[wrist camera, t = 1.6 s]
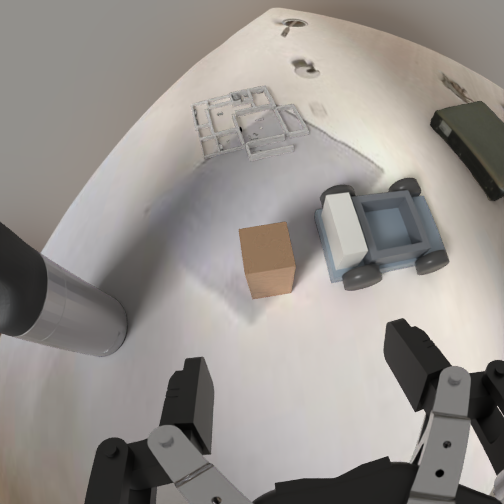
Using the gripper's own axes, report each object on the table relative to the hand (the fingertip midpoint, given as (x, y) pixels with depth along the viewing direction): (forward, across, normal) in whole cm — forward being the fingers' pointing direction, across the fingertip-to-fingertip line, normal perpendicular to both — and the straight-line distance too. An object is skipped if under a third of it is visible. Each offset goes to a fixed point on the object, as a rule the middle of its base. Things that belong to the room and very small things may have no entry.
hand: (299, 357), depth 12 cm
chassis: (+28, -17, +7) cm, 33 cm away
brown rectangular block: (+26, 0, +9) cm, 27 cm away
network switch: (+39, -51, -3) cm, 64 cm away
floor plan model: (+47, -4, -12) cm, 49 cm away
